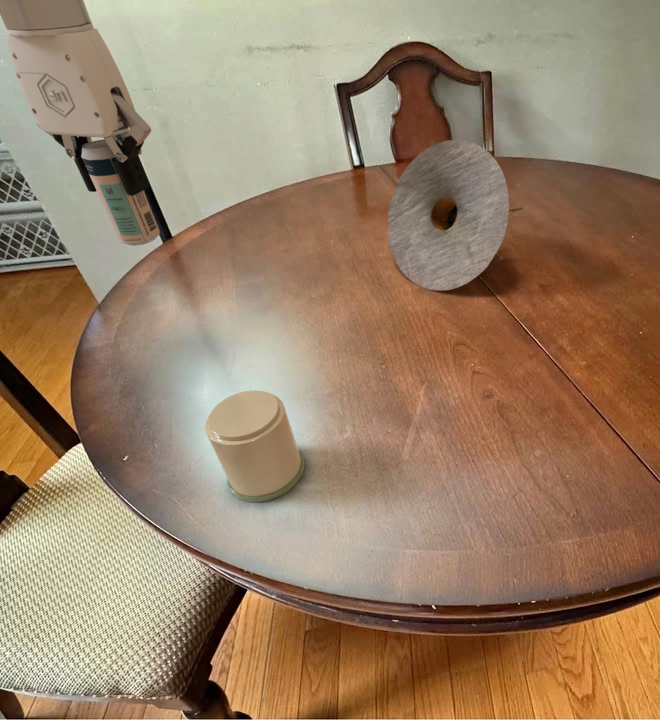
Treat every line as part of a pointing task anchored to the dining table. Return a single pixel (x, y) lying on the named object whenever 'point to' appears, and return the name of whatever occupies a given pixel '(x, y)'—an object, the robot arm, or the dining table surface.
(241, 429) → the cup
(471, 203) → the disc
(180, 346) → the dining table surface
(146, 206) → the beer can
